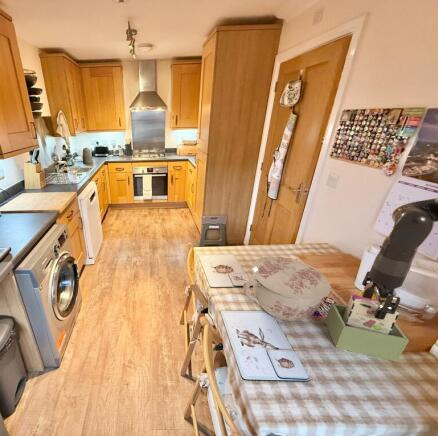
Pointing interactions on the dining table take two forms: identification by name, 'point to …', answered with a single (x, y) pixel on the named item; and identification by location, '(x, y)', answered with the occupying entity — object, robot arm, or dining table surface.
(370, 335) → the bin
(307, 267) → the chamber pot
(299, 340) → the dining table surface
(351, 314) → the candy bar box
